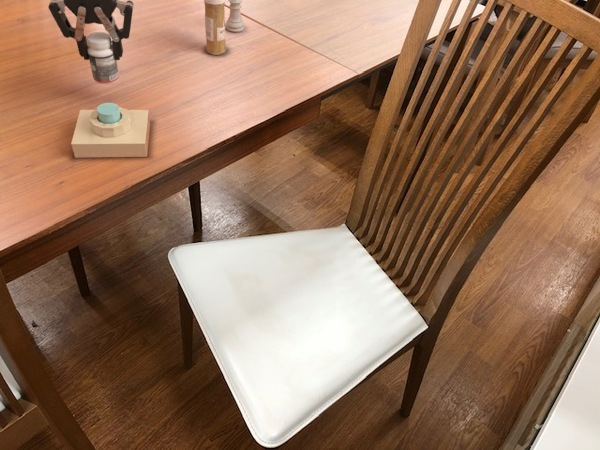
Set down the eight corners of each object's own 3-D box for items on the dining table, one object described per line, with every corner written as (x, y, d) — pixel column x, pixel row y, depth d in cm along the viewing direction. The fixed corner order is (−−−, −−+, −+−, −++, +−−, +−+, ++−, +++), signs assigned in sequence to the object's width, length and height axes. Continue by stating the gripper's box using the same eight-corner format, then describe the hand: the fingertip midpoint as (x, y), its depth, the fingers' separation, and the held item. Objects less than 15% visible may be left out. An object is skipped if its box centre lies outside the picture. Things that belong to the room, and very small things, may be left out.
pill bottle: (93, 73, 97) (83, 31, 91) (118, 71, 99) (111, 29, 93) (94, 86, 94) (84, 44, 88) (120, 84, 96) (113, 42, 90)
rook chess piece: (227, 33, 123) (227, 0, 117) (224, 24, 126) (224, -8, 120) (245, 32, 124) (246, 0, 118) (242, 24, 127) (243, -8, 121)
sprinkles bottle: (227, 55, 116) (226, -5, 106) (207, 56, 114) (205, -4, 105) (224, 45, 119) (223, -14, 109) (204, 46, 117) (201, -14, 108)
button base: (74, 157, 87) (68, 134, 83) (83, 123, 94) (77, 100, 90) (147, 156, 89) (143, 133, 85) (150, 123, 96) (147, 100, 92)
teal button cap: (97, 124, 86) (95, 114, 85) (100, 112, 89) (98, 102, 87) (119, 124, 87) (117, 114, 86) (121, 112, 89) (119, 102, 88)
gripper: (130, -47, 85) (144, 48, 97) (39, -51, 82) (64, 47, 95) (126, -29, 80) (141, 69, 92) (29, -33, 77) (57, 68, 90)
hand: (102, 57), depth 93 cm, fingers closed on pill bottle, 4 cm apart
